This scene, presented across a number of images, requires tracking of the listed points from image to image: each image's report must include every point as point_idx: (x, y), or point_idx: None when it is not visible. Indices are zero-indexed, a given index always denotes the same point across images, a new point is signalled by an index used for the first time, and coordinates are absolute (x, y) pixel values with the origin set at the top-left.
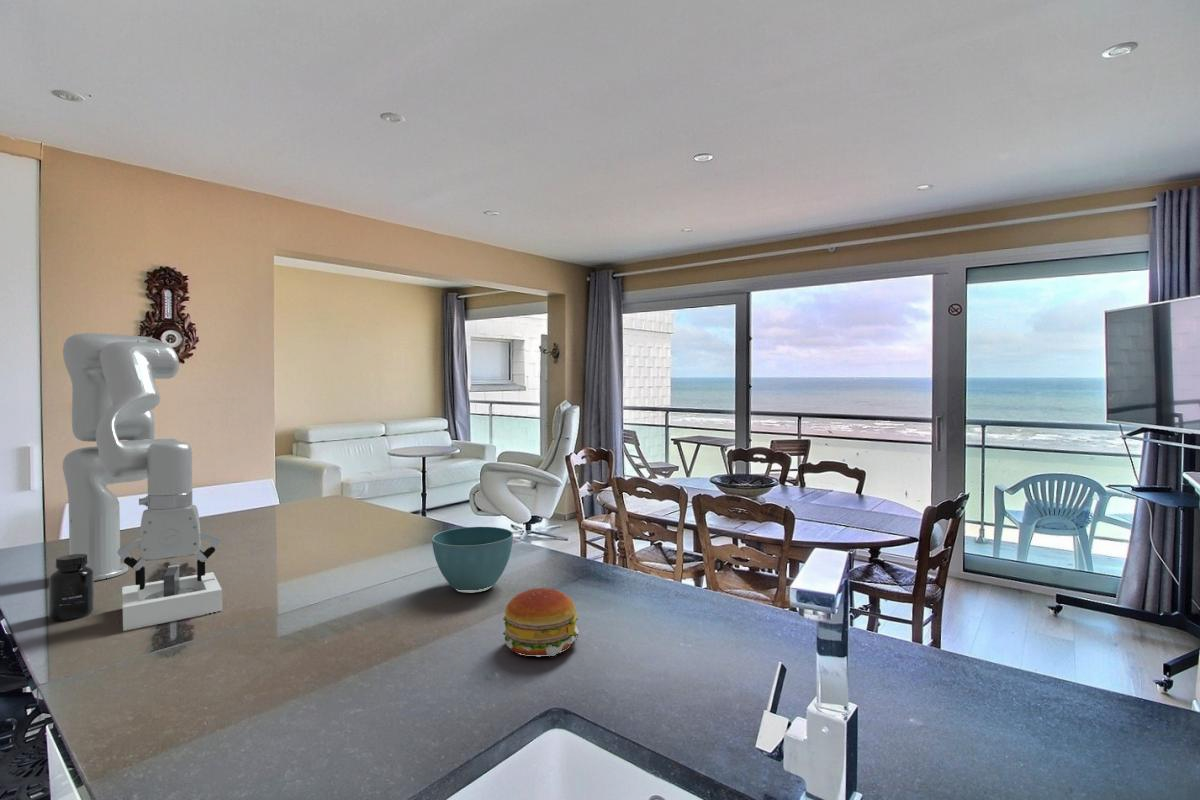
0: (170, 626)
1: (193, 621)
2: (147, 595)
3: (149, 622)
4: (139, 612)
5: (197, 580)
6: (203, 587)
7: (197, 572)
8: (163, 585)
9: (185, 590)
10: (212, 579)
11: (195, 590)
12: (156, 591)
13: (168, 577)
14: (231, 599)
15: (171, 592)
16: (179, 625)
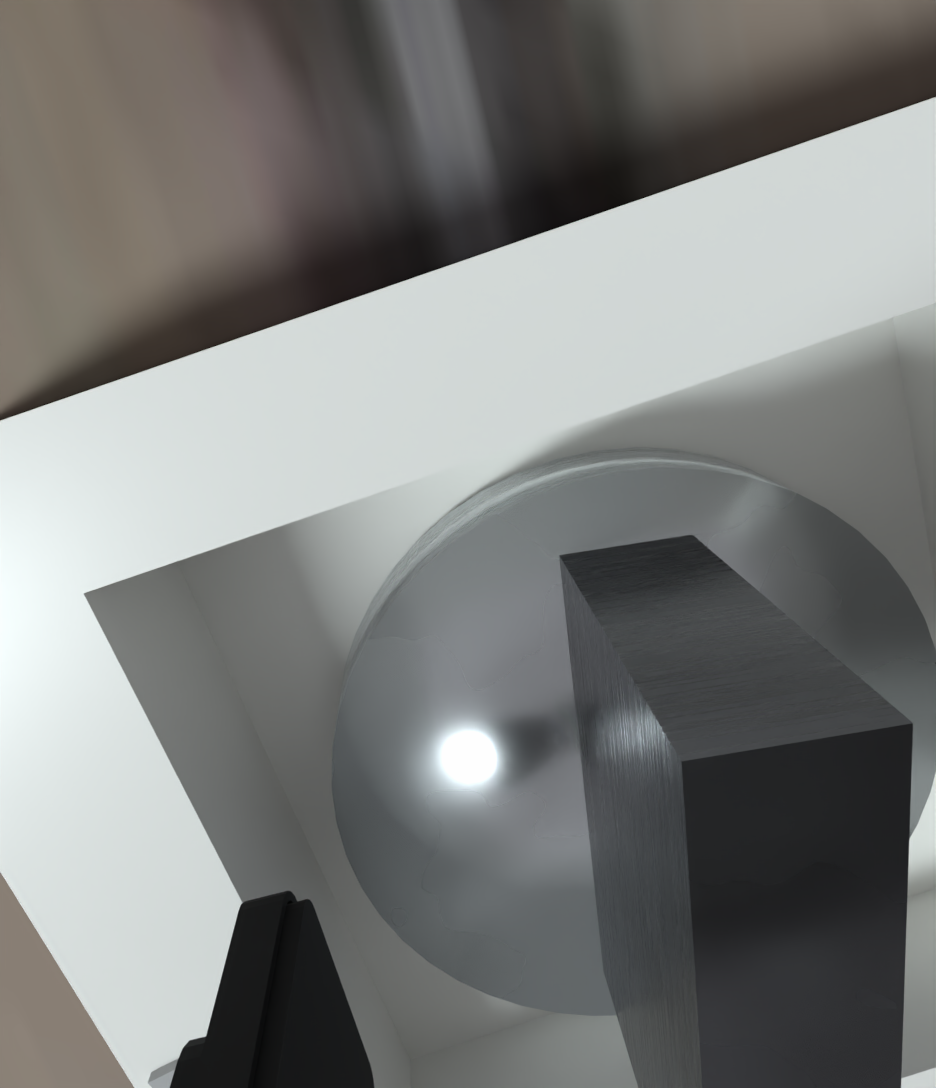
0: (461, 39)
1: (222, 138)
2: (924, 934)
3: (731, 167)
4: (928, 99)
5: (305, 902)
6: None
7: (281, 1027)
8: None
9: (516, 904)
10: None
11: (383, 869)
12: None
13: (787, 717)
14: None
15: (628, 591)
16: (356, 33)
